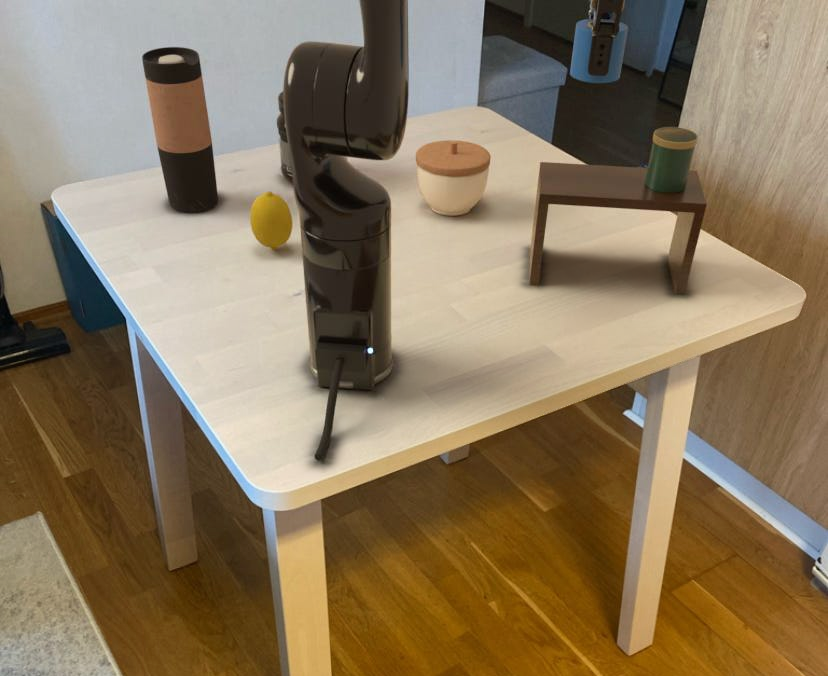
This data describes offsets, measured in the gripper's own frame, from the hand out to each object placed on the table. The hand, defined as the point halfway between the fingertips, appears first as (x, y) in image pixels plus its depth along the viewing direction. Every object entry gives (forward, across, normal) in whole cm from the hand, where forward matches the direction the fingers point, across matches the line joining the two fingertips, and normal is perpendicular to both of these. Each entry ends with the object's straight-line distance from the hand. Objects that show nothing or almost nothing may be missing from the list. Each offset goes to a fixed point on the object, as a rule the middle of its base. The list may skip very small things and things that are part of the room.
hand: (596, 65), depth 100 cm
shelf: (+26, -3, +5) cm, 27 cm away
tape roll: (+1, 0, 0) cm, 1 cm away
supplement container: (+26, -28, -39) cm, 54 cm away
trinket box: (+26, -20, -17) cm, 37 cm away
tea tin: (+14, -3, +11) cm, 18 cm away
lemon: (+26, -3, -40) cm, 48 cm away
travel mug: (+26, -16, -55) cm, 63 cm away
